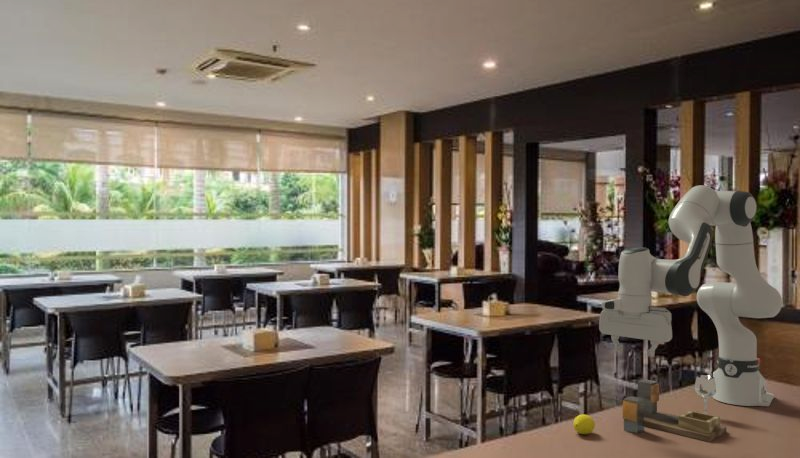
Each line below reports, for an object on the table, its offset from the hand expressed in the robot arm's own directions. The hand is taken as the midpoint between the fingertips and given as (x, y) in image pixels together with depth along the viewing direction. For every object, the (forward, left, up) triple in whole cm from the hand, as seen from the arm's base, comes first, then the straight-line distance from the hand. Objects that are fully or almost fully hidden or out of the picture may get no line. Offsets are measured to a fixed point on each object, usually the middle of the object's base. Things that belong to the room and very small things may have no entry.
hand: (634, 353), depth 175 cm
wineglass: (-29, +8, -22) cm, 37 cm away
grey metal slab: (0, 0, -22) cm, 22 cm away
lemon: (+13, -8, -22) cm, 27 cm away
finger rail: (-12, +6, -22) cm, 25 cm away
